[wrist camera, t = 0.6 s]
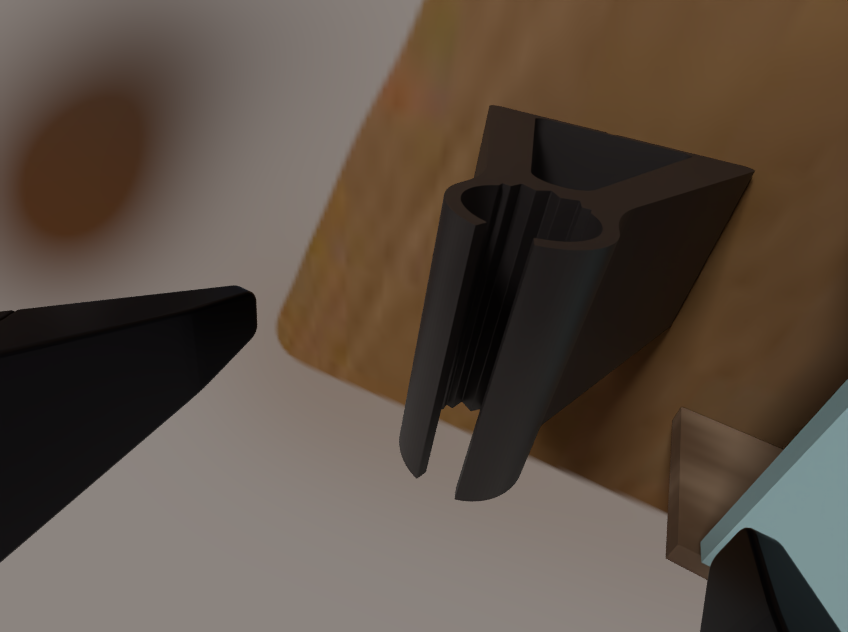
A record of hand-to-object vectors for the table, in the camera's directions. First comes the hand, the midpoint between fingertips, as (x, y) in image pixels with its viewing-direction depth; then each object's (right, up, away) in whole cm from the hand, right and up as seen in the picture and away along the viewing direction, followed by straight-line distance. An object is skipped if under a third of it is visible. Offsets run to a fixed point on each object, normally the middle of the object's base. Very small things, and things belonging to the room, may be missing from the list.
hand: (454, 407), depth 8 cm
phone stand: (+6, +6, +10) cm, 13 cm away
